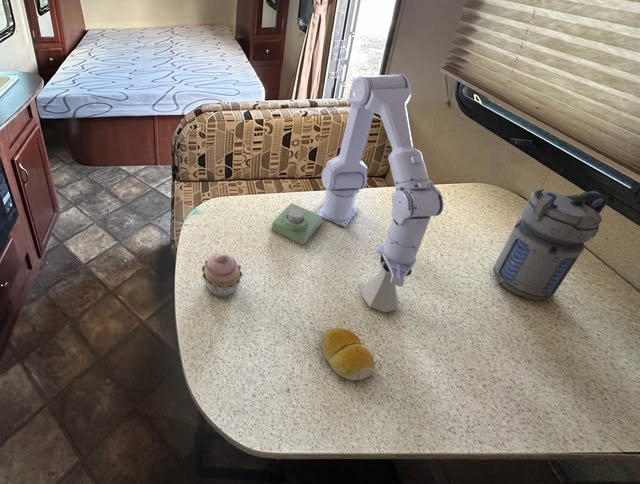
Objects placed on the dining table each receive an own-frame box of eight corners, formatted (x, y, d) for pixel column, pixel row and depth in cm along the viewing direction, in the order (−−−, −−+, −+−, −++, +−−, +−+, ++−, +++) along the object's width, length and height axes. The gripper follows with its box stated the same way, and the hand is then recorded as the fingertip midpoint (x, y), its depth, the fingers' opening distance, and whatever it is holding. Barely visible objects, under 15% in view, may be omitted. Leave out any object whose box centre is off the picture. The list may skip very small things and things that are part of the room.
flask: (392, 285, 83) (403, 254, 77) (404, 315, 77) (417, 284, 71) (357, 281, 84) (365, 252, 79) (366, 311, 78) (375, 280, 73)
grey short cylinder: (291, 212, 101) (292, 206, 100) (304, 218, 98) (305, 212, 97) (285, 219, 98) (286, 213, 97) (298, 225, 96) (299, 219, 95)
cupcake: (198, 299, 82) (198, 267, 78) (203, 267, 90) (204, 236, 86) (240, 307, 80) (243, 274, 75) (242, 273, 88) (245, 242, 83)
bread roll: (347, 330, 74) (351, 317, 73) (380, 375, 67) (385, 361, 65) (310, 340, 73) (313, 327, 71) (340, 387, 65) (344, 373, 63)
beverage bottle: (575, 299, 78) (642, 205, 67) (517, 306, 77) (574, 212, 66) (529, 263, 87) (580, 174, 76) (476, 268, 86) (520, 180, 75)
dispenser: (290, 210, 108) (292, 197, 106) (320, 223, 102) (323, 210, 100) (271, 229, 101) (273, 217, 99) (303, 245, 95) (305, 232, 93)
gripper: (382, 211, 82) (369, 256, 89) (380, 254, 71) (365, 302, 78) (420, 220, 79) (403, 266, 85) (423, 267, 68) (404, 316, 74)
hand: (388, 284), depth 81 cm, fingers closed, pressing on flask
